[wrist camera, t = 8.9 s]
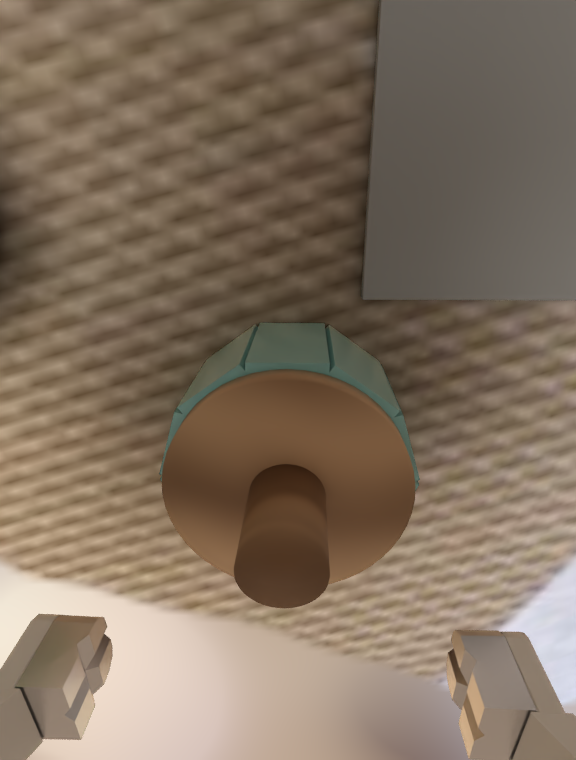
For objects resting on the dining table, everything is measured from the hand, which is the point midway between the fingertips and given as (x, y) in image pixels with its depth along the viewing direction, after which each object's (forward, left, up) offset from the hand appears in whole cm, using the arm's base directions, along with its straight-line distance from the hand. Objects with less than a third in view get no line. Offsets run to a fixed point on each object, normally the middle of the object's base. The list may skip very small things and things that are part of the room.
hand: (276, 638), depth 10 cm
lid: (+1, 0, -7) cm, 7 cm away
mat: (-11, +8, -12) cm, 18 cm away
